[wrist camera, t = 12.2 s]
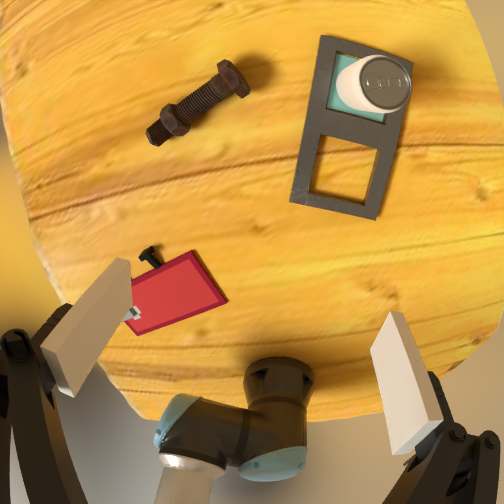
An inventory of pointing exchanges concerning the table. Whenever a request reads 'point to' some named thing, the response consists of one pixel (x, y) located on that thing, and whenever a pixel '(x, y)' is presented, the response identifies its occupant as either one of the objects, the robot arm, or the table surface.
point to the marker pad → (334, 98)
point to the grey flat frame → (344, 134)
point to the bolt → (197, 103)
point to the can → (374, 84)
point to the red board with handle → (170, 293)
